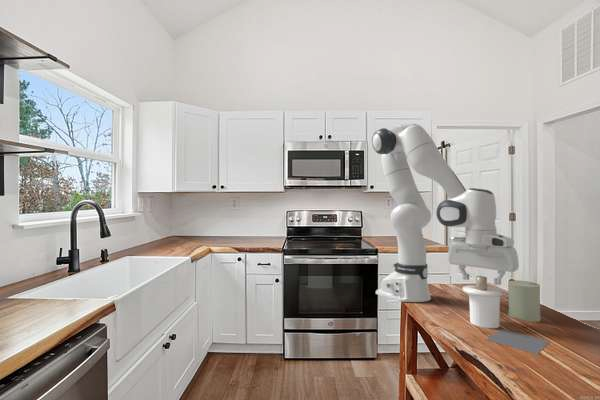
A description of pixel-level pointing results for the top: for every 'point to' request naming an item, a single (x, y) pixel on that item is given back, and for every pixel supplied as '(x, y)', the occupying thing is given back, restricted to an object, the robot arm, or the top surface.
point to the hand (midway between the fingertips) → (481, 281)
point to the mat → (518, 341)
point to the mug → (484, 311)
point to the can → (524, 300)
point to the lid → (482, 289)
